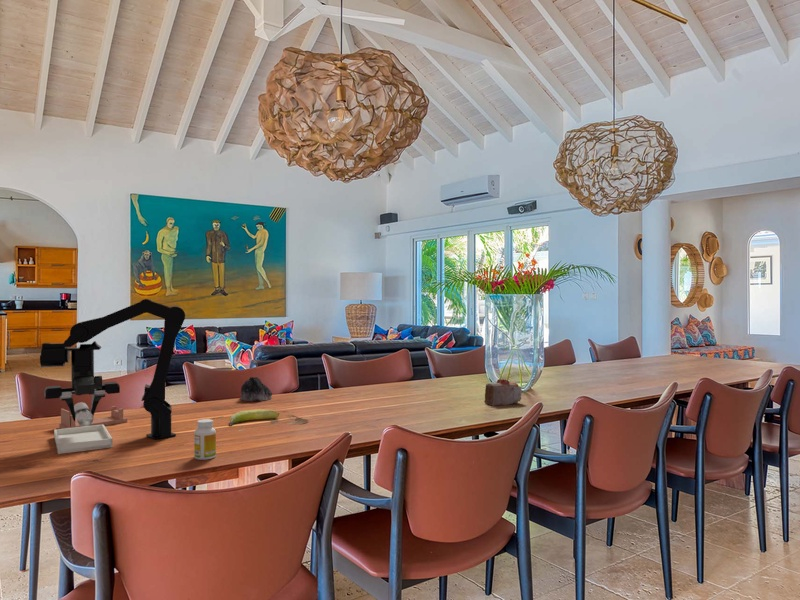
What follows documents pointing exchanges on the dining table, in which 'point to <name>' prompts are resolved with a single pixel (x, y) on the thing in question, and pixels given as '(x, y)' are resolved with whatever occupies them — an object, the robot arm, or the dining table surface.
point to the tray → (82, 439)
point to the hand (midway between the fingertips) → (83, 419)
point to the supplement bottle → (205, 440)
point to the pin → (83, 414)
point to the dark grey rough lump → (255, 390)
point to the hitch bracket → (114, 419)
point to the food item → (502, 393)
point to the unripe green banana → (260, 417)
